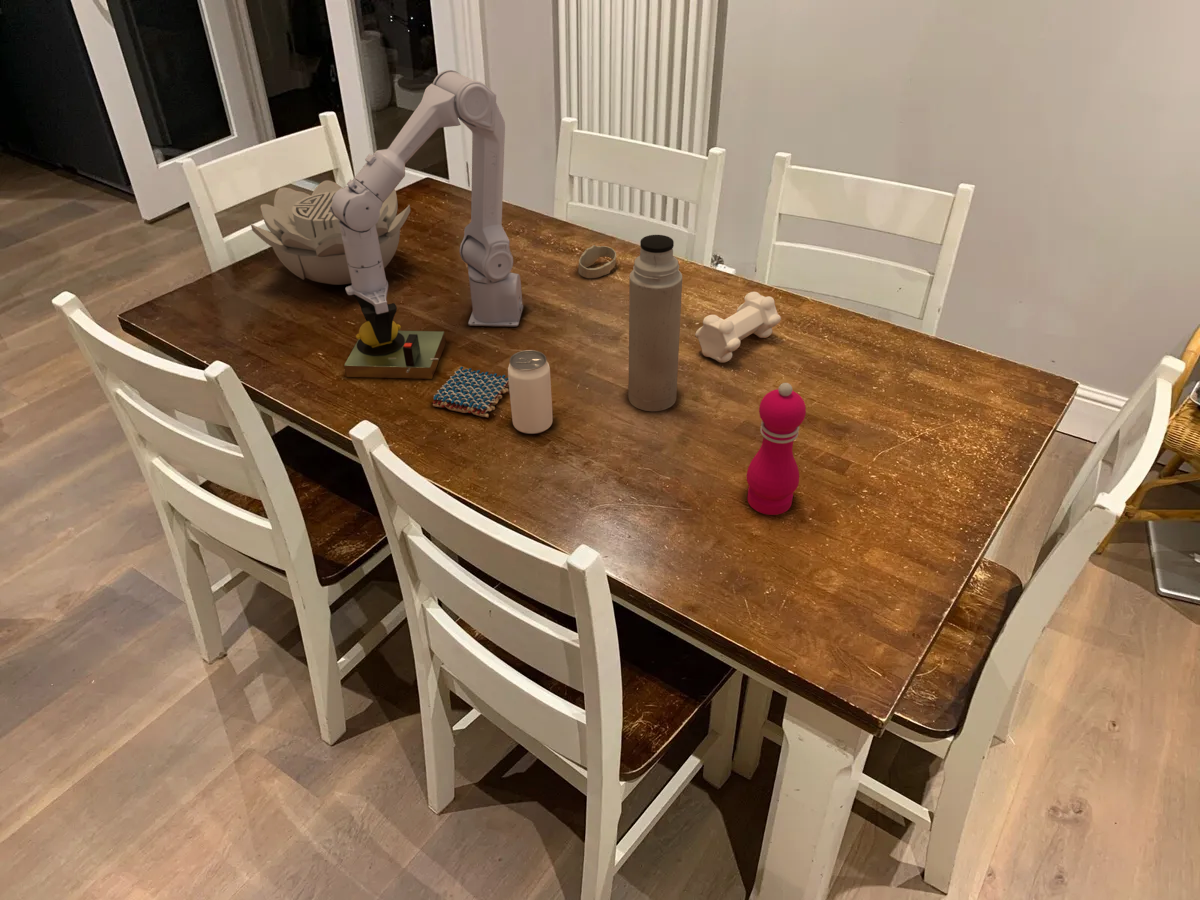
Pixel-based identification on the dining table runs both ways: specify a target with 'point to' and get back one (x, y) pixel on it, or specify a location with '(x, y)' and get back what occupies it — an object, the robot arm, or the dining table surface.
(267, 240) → the decorative bowl
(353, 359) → the hob
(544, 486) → the dining table surface
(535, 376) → the can
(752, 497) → the pepper mill
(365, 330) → the lemon
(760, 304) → the bone shaped toy
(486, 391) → the woven mat
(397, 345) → the burner
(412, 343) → the black block
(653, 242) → the thermos bottle
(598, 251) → the grey oval ring
